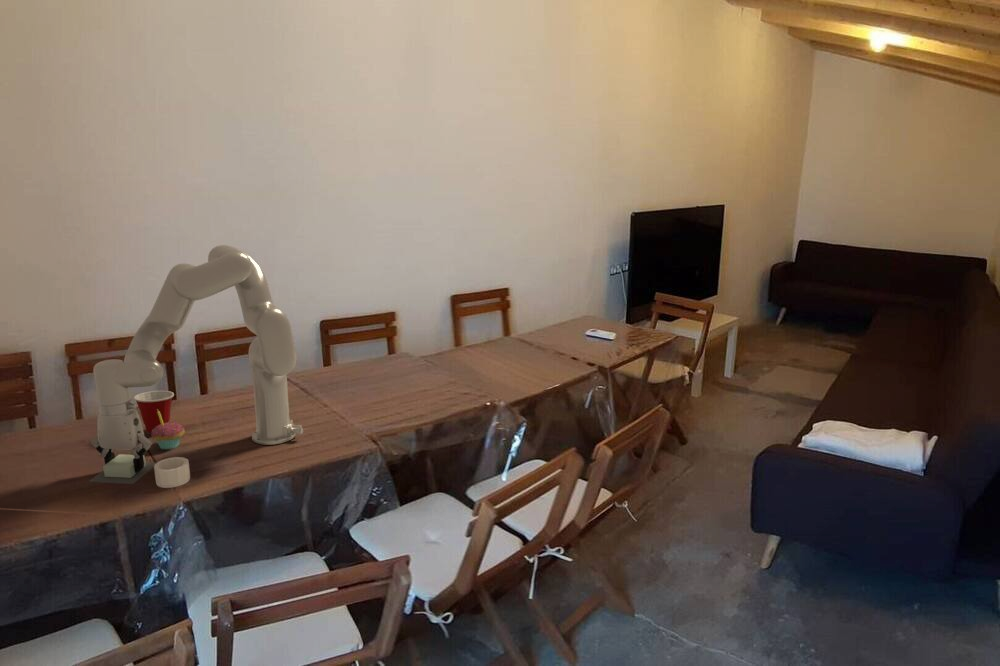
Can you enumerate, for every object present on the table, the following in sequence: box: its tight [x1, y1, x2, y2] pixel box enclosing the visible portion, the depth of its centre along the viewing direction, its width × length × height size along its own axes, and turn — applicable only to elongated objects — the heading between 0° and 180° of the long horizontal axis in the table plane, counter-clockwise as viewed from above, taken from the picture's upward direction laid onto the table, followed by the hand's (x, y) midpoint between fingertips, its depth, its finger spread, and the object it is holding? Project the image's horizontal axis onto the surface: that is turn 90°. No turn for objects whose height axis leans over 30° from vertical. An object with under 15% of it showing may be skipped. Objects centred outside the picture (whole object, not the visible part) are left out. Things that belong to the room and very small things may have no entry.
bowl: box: [153, 456, 191, 489], centre depth 173 cm, size 8×8×5 cm
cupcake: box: [150, 409, 186, 450], centre depth 192 cm, size 9×8×12 cm
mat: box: [88, 461, 157, 485], centre depth 177 cm, size 12×12×1 cm
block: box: [102, 453, 147, 478], centre depth 177 cm, size 7×7×3 cm
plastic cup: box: [133, 390, 175, 435], centre depth 202 cm, size 11×11×12 cm
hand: (125, 468), depth 177 cm, fingers closed on block, 7 cm apart
